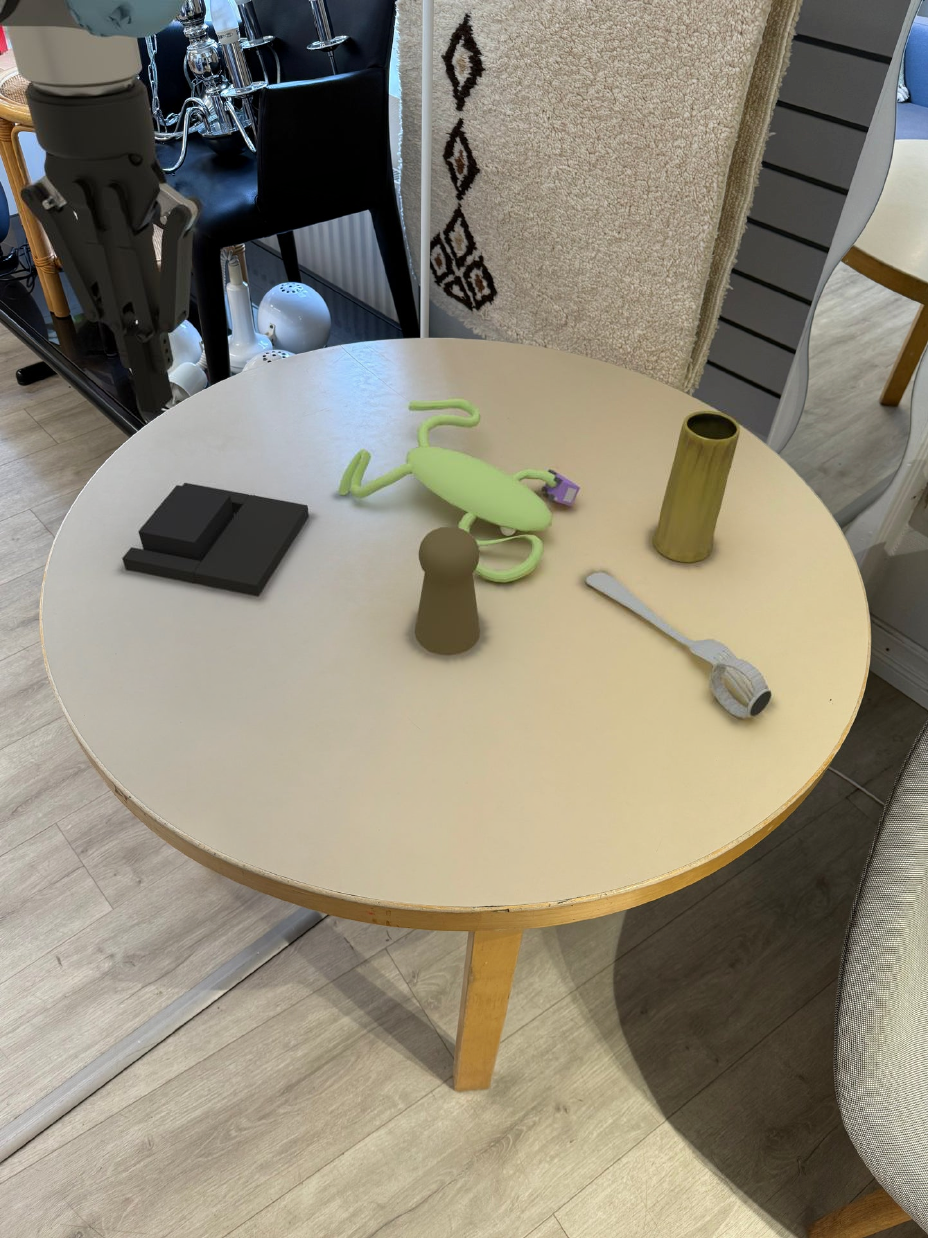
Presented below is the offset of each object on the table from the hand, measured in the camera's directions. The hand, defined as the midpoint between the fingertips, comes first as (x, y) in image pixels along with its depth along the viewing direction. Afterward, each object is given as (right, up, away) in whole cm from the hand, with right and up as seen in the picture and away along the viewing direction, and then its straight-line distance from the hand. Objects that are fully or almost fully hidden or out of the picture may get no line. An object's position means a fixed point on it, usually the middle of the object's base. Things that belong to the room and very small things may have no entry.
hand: (157, 403), depth 75 cm
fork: (+44, -20, +9) cm, 49 cm away
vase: (+48, -10, +19) cm, 53 cm away
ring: (+48, -25, +4) cm, 55 cm away
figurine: (+25, -5, +24) cm, 35 cm away
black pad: (+1, -10, +17) cm, 20 cm away
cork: (+24, -19, +9) cm, 32 cm away
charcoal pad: (-3, -9, +18) cm, 20 cm away
